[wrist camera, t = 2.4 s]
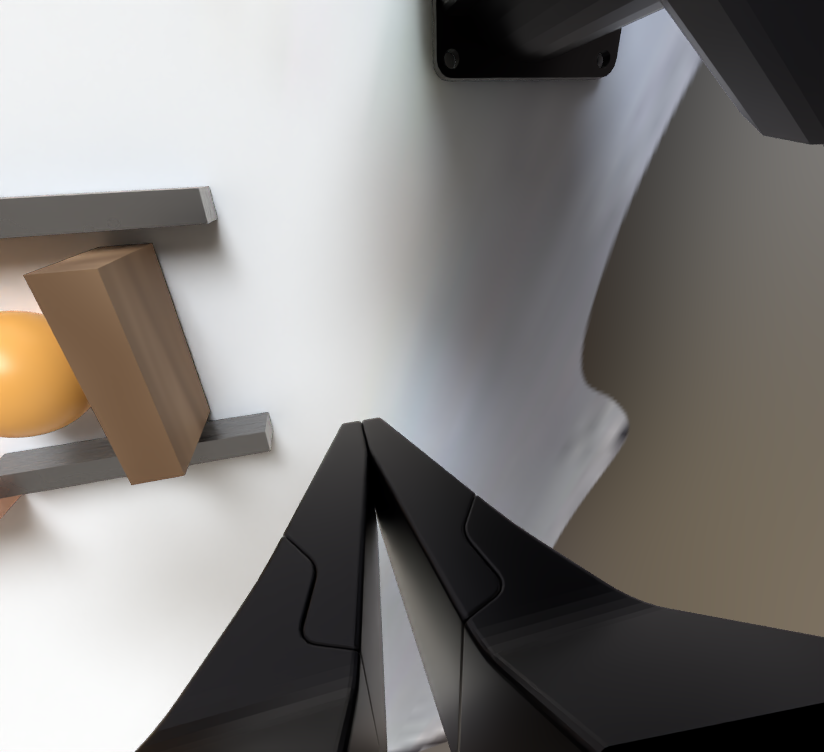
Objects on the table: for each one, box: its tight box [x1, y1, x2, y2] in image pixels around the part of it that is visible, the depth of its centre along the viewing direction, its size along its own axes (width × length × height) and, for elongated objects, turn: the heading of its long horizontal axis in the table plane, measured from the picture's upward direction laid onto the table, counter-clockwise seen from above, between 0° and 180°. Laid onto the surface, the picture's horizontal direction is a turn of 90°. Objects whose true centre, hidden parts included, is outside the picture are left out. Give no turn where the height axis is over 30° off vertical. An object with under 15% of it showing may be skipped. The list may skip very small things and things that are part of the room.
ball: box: [0, 311, 91, 438], centre depth 12 cm, size 4×4×4 cm
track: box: [0, 186, 273, 498], centre depth 14 cm, size 10×10×2 cm
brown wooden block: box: [23, 243, 210, 485], centre depth 13 cm, size 2×7×4 cm, turn 3°
